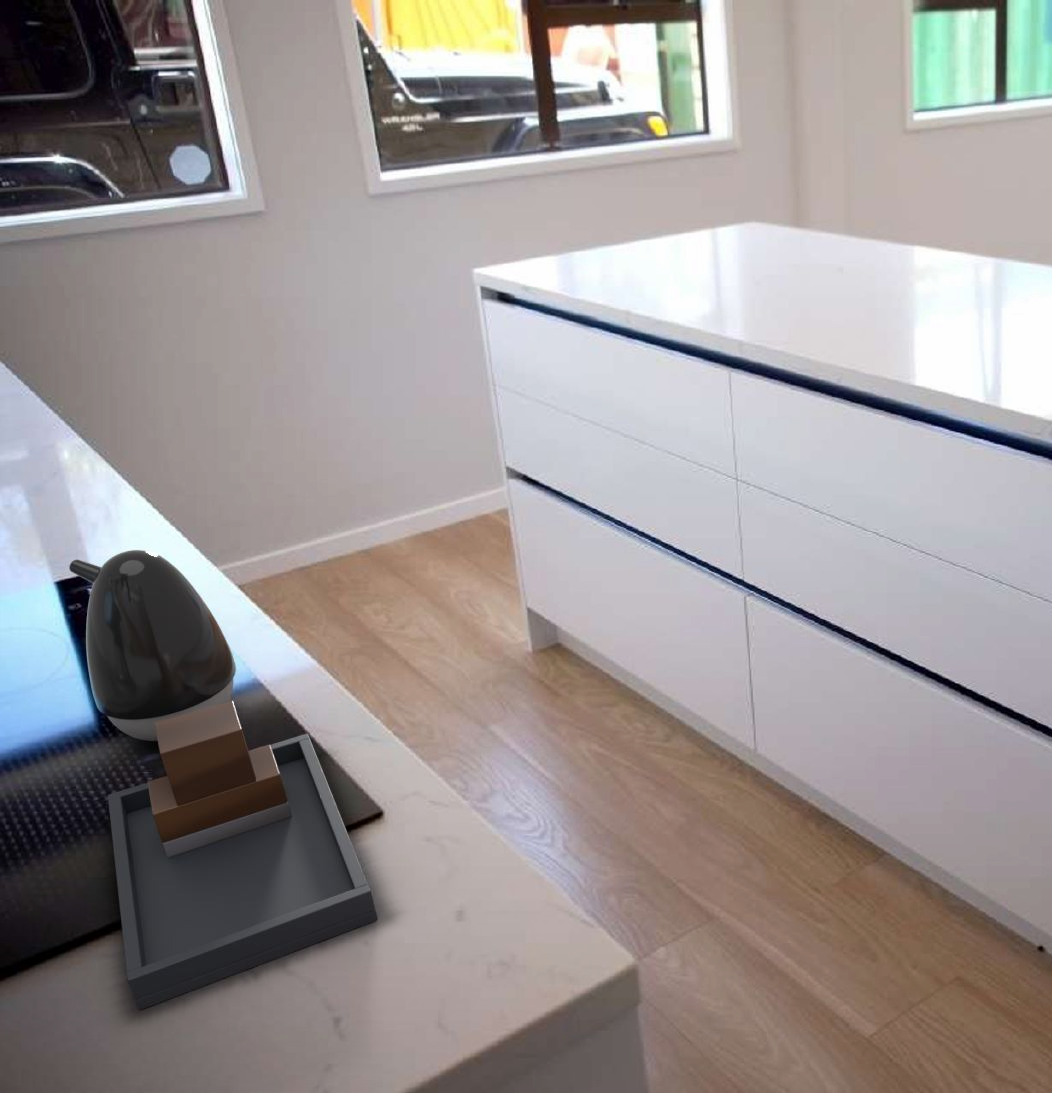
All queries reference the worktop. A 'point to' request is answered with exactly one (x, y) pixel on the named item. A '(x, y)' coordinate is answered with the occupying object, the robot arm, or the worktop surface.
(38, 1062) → the worktop surface
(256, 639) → the worktop surface
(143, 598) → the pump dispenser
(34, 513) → the worktop surface
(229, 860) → the tray
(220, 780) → the brown t-shaped block
